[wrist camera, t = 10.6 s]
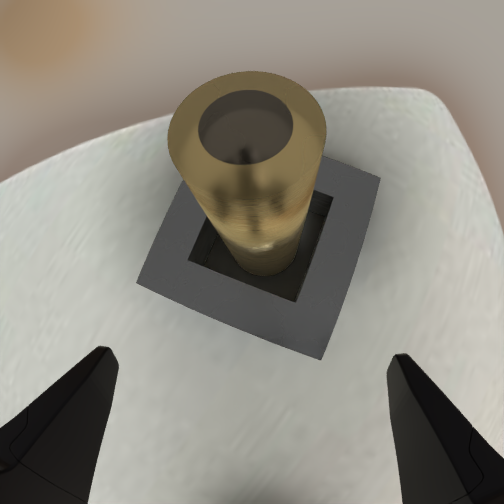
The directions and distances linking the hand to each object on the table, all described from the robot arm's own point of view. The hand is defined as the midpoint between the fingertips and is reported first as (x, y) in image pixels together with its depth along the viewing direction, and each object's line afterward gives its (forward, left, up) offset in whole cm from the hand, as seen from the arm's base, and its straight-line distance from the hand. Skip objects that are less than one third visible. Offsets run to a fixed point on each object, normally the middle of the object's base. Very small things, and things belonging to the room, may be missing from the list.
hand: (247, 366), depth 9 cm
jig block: (+2, -6, -11) cm, 13 cm away
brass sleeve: (+2, -6, -11) cm, 12 cm away
